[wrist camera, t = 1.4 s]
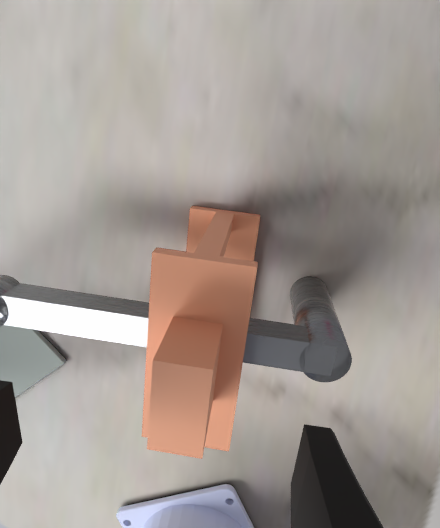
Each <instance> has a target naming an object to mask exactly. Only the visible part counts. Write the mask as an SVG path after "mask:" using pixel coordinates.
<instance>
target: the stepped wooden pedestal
mask: <svg viewBox="0 0 440 528" xmlns="http://www.w3.org/2000/svg"><path fill="white" fill-rule="evenodd" d="M259 222H260V215H258V214H251V213H244V212H236V211H229V210H221V209H214V208H206V207H199V206H192V207H191V208H190V214H189V226H188V237H187V248H186V252H184V251H177V250H170V249H163V248H156V249H155V250H154V251H153V252H152V265H151V282H150V300H149V318H148V335H147V353H146V371H145V389H144V406H143V424H142V437H148V443H147V449H149V450H155V451H161V452H167V453H172V454H178V455H184V456H190V457H195V458H201V459H202V457H203V451H204V447H207V448H212V449H218V450H224V451H229V448H230V441H231V435H232V428H233V422H234V415H235V409H236V402H237V396H238V389H239V383H240V376H241V370H242V363H243V357H244V350H245V344H246V337H247V331H248V325H249V318H250V312H251V305H252V299H253V292H254V286H255V279H256V273H257V264H258V262H255V261H254V256H255V249H256V242H257V236H258V229H259Z"/></svg>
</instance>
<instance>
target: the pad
mask: <svg viewBox="0 0 440 528" xmlns="http://www.w3.org/2000/svg"><path fill="white" fill-rule="evenodd" d="M66 361H67V360H66V359H65V358H64V357H63V356H62V355H61V354H60V353H59V352H58V351H57V350H56V349H55V348H54V347H53V345H52V344H51V343H50V342H49V341H48V340H47V339H46V338H45V337H44V336H43V335H42V334H41V333H40V332H39V331H38V330H34V329H28V328H22V327H15V326H9V325H2V326H1V327H0V380H2V381H9V382H12V383H13V389H14V395H15V397H17V396H18V395H20V394H21V393H23V392H24V391H25V390H27V389H28V388H30V387H31V386H33V385H34V384H35V383H37V382H38V381H40V380H41V379H43V378H44V377H45V376H47V375H48V374H50V373H51V372H53V371H54V370H55V369H57V368H58V367H60V366H61V365H63V364H64V363H65V362H66Z"/></svg>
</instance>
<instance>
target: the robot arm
mask: <svg viewBox="0 0 440 528" xmlns="http://www.w3.org/2000/svg"><path fill="white" fill-rule="evenodd" d="M21 444H22V438H21V432H20V426H19V420H18V413H17V407H16V401H15V395H14V389H13V383H12V382H9V381H2V380H0V484H1V482H2V480H3V478H4V477H5V475H6V473H7V471H8V469H9V467H10V466H11V464H12V462H13V460H14V458H15V456H16V454H17V452H18V450H19V448H20V446H21ZM228 498H230V499H228ZM116 516H117V519H118V520H119V522H120V524H121V525H122V527H123V528H254V526H253V524H252V522H251V520H250V518H249V516H248V514H247V512H246V510H245V508H244V506H243V504H242V502H241V500H240V498H239V496H238V494H237V492H236V490H235V489H234V487H233V486H231V485H228V484H224V485H219V486H214V487H210V488H205V489H201V490H196V491H192V492H187V493H182V494H178V495H173V496H169V497H164V498H159V499H155V500H150V501H146V502H141V503H137V504H132V505H127V506H123V507H120V508H119V509H118V511H117V514H116ZM291 528H383V526H382V524H381V523H380V521H379V519H378V517H377V515H376V514H375V512H374V510H373V508H372V507H371V505H370V503H369V501H368V500H367V498H366V496H365V494H364V492H363V490H362V488H361V487H360V485H359V483H358V481H357V479H356V477H355V475H354V473H353V471H352V469H351V467H350V465H349V463H348V461H347V459H346V457H345V455H344V453H343V451H342V449H341V447H340V445H339V442H338V440H337V438H336V436H335V434H334V432H333V431H332V430H331V428H325V427H318V426H311V425H304V428H303V433H302V437H301V442H300V446H299V451H298V455H297V459H296V464H295V468H294V473H293V477H292V482H291Z"/></svg>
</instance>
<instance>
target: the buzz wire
mask: <svg viewBox="0 0 440 528" xmlns="http://www.w3.org/2000/svg"><path fill="white" fill-rule="evenodd" d="M290 297H291V304H292V312H293V319H294V325H293V324H287V323H280V322H273V321H267V320H260V319H253V318H249V325H248V331H247V337H246V344H245V350H244V357H243V362H244V363H250V364H256V365H263V366H269V367H275V368H282V369H288V370H295V371H301V372H304V373H305V375H307V376H308V377H309V378H311V379H313V380H315V381H319V382H331V381H335V380H338V379H340V378H341V377H343V376H344V375H345V374H346V373H347V372H348V370H349V369H350V366H351V362H352V358H351V353H350V351H349V348H348V345H347V342H346V339H345V337H344V334H343V331H342V328H341V326H340V323H339V320H338V317H337V315H336V312H335V309H334V306H333V303H332V301H331V298H330V295H329V292H328V290H327V287H326V285H325V284H324V283H323V282H322V281H321V280H320V279H318V278H315V277H304V278H301V279H299V280H298V281H296V282H295V283H294V285H293V286H292V288H291V291H290ZM148 318H149V303H147V302H140V301H134V300H127V299H121V298H114V297H107V296H101V295H94V294H87V293H81V292H74V291H67V290H61V289H54V288H47V287H41V286H34V285H28V284H21V283H19V282H18V281H17V280H15V279H14V278H12V277H9V276H6V275H0V327H1V326H2V325H9V326H15V327H22V328H28V329H34V330H41V331H47V332H53V333H60V334H66V335H72V336H79V337H85V338H91V339H98V340H104V341H110V342H117V343H123V344H129V345H136V346H142V347H147V335H148Z"/></svg>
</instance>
